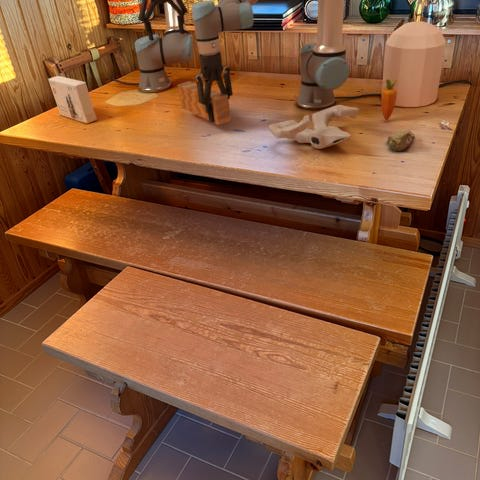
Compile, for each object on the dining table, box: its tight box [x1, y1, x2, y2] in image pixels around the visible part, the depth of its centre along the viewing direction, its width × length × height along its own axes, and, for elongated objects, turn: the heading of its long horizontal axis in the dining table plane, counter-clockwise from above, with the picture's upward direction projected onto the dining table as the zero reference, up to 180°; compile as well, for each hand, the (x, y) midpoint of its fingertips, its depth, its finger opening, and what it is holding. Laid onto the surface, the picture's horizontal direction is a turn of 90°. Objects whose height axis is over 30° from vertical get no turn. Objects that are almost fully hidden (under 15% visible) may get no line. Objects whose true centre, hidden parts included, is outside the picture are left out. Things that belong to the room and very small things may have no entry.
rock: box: [387, 129, 416, 152], centre depth 146 cm, size 11×6×10 cm
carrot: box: [380, 79, 397, 122], centre depth 161 cm, size 5×5×15 cm
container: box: [380, 20, 447, 108], centre depth 175 cm, size 21×21×28 cm
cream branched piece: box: [268, 104, 360, 150], centre depth 153 cm, size 28×26×12 cm
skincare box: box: [47, 75, 98, 124], centre depth 192 cm, size 21×6×16 cm, turn 49°
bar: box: [177, 80, 232, 126], centre depth 174 cm, size 28×6×9 cm, turn 34°
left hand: (166, 36), depth 183 cm, fingers open, 13 cm apart
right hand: (218, 118), depth 169 cm, fingers closed on bar, 5 cm apart
